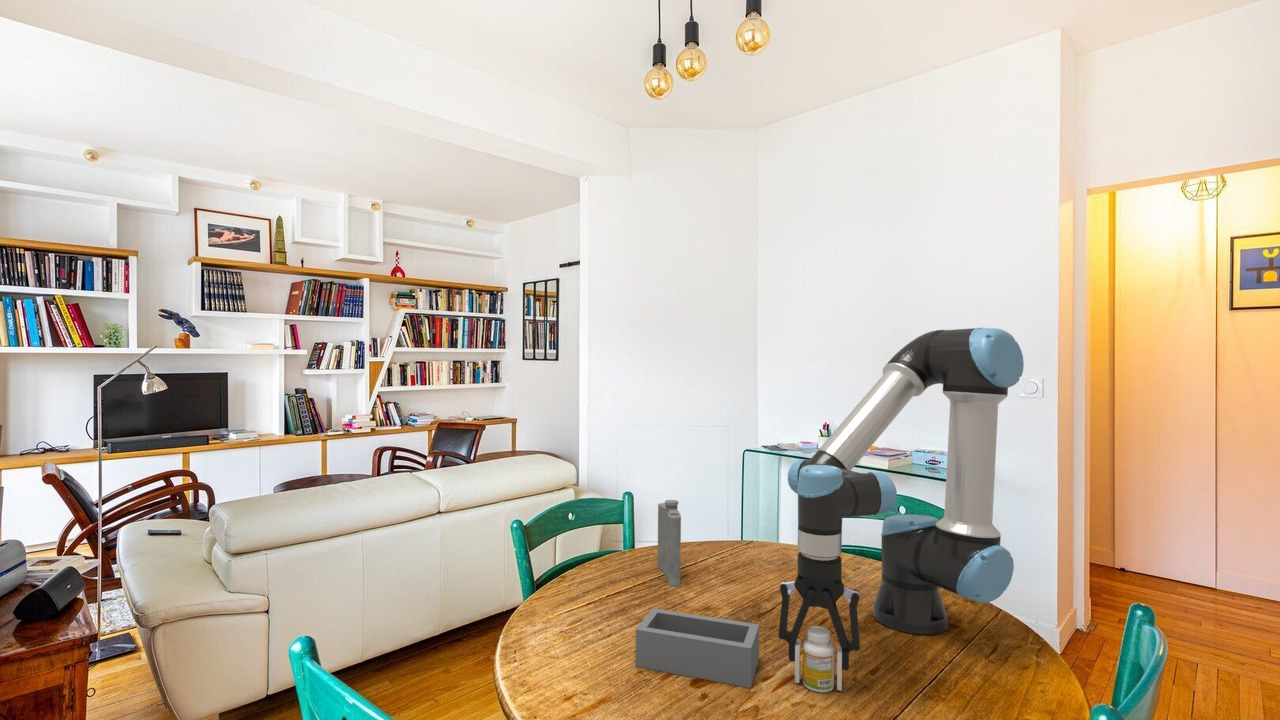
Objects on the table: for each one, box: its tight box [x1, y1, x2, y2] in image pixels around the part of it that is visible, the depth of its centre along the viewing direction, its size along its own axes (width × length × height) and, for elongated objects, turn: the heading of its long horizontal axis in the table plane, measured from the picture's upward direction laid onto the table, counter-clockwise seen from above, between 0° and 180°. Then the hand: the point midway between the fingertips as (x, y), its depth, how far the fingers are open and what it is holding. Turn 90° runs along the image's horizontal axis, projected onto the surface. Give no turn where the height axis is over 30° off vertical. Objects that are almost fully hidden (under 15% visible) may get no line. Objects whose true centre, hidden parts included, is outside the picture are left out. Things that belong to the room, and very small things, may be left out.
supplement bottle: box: [802, 625, 835, 694], centre depth 107 cm, size 5×5×10 cm
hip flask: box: [657, 499, 682, 588], centre depth 161 cm, size 16×4×20 cm, turn 10°
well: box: [634, 607, 760, 689], centre depth 114 cm, size 22×10×7 cm, turn 71°
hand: (818, 682), depth 107 cm, fingers open, 6 cm apart
